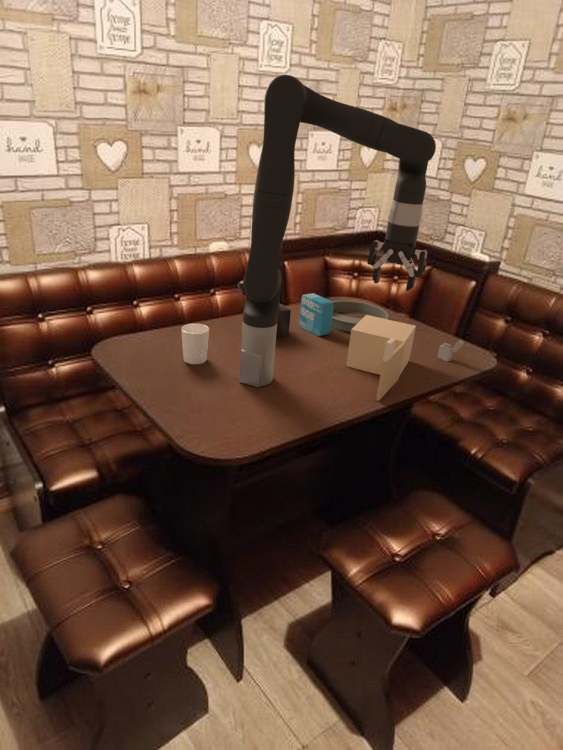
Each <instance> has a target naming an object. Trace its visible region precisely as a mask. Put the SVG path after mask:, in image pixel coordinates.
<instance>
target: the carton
mask: <svg viewBox="0 0 563 750" xmlns="http://www.w3.org/2000/svg"><path fill="white" fill-rule="evenodd" d="M361 318H362V319H361V320H360V321H359V322H358V323H357V324H356V325H355V326H354V327H353V328H352V329H351V332H350V337H349V343H348V351H347V356H346V363H345V364H346V365H345V367H348V368H353V369H356V370H360V371H365V372H367V373H370V374H371V373H372V374H375V375H378V376H379V375H381V369H382V364H383V357H384V351H385V346H386V342H387V341H388V340H390V339H391V338H394V339H396V340H395V346H394V350H395V349H396V348H397V347H398V346H399V345H400V344H401V343H403V342H404V343H405V348H404V354H403V359H402V364H401V369H400V374H399V377H400V376H401V375H402V373H403V371H404V369H406V366H407V364H408V363H409V362H408V361H410V358H411V352H412V347H413V342H414V338H415V332H416V328H417V326H416V325H414V324H409V323H404V322H401V321H395V320H392V319H389V318H388V319H383V318H379V317H374V316H370V315H364V317H361Z"/></svg>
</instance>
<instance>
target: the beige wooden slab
mask: <svg viewBox="0 0 563 750" xmlns="http://www.w3.org/2000/svg"><path fill="white" fill-rule="evenodd" d="M395 340H396V339H394V338H391V339H390V340H388V341H387V342H386V346H385V351H384V357H383V364H382V369H381V375H380V376H379V382H378V386H377V387H378V388H377V391H376V398H375V400H376V401H380V400H381V399H382V398H383V397H384V396H385V395H386V394H387V392H389V391H390V389H391V388H392V387H394V385H395V384H396V383H397V382H398V381H399V378H400V376H399V374H400V369H401V364H402V359H403V354H404V348H405V343H404V342H403V343H401V344H400V345H399V346H398V347H397V348H396V349H395V350H394V346H395ZM400 375H401V374H400Z"/></svg>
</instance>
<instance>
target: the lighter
mask: <svg viewBox="0 0 563 750" xmlns="http://www.w3.org/2000/svg"><path fill="white" fill-rule="evenodd" d="M464 344H465V342H464V341H463V340H462V339H460V340H458V341H457V342H456V343H455V345H453V347H451V346H452V345H451V344H450V343H447V342H444V343H443V344H440V345H439V348H438V352H437V358H438V359H440V358H441V359H440V360H443V361H444V362H447V361H449V362H451V361H452V357H453V353H457V352H458V351H459V350H460V348H461V347H462V346H463V345H464ZM450 360H451V361H450Z"/></svg>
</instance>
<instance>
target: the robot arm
mask: <svg viewBox="0 0 563 750" xmlns="http://www.w3.org/2000/svg"><path fill="white" fill-rule="evenodd" d="M263 97H264V99H263V101H264V102H263V103H264V107H263V109H264V110H263V112H264V114H263V117H264V118H263V139H262V141H263V142H262V147H261V151H260V155H259V156H260V157H259V161H258V167H257V171H256V178H255V184H254V192H253V201H252V213H251V233H250V235H251V239H250V241H251V242H250V250H249V255H248V259H247V264H246V268H245V272H244V273H245V274H244V276H243V286H244V290H245V293H246V296H245V300H244V307H243V312H242V330H241V351H240V358H239V359H240V360H239V377H238V379H239V380H238V381H239V383H242V384H246V385H248V386H253V387H255V388H260V387H262V386H267V385H269V384H271V383H272V382H273V379H274V378H273V377H274V367H275V353H276V343H277V338H276V331H277V319H278V312H279V303H280V301H281V289H282V272H281V270H280V267H279V266H280V253H281V249H282V248H281V247H282V244H283V240H284V237H285V234H286V230H287V228H288V223H289V219H290V216H291V209H292V206H293V205H292V203H293V196H294V191H295V190H294V189H295V175H296V173H295V171H296V170H295V169H296V167H295V155H296V154H295V150H296V144H297V143H296V141H297V137H298V134H299V129H300V128H299V127H300V123H303V124H308V125H311V126H314V127H318V128H321V129H324V130H327V131H329V132H332V133H334V134H336V135H338V136H339V137H342V138H344V139H346V140H349V141H351V142H353V143H356V144H358V145H361V146H363V147H366V148H369V149H372V150H375V151H378V152H381V153H386V154H389V155H390V156H393V157H395V158H396V159H398V170H397V179H396V183H395V185H394V192H393V197H392V203H391V206H390V209H389V214H388V216H387V217H388V218H387V219H388V220H387V221H388V222H387V226H386V232H385V237H384V242H381V241H380V240H379V239H376V240H373V241H372V242H371V245H370V249H369V253H368V257H367V261H366V262H367V265H369V266H372V268H373V272H372V273H373V274H372V278H371V279H372V281H373V283H374V284H375V285H376V284H379V283H380V279H381V273H382V266H383V265H385V263H386V262H388V263H391V264H394V263H395V264H397V265H400V266H401V265H404V269H406V271H407V273H408V277H407V282H406V286H405V291H407V292H410V291H411V290H413V288H414V286H415V282H416V278H417V277H421V276H422V275H424V274H425V273H426V267H427V261H428V249H423V250H422V249H421V250H420V249H417V247H416V245H417V240H418V237H419V236H418V235H419V230H420V225H421V221H422V215H423V206H424V205H423V204H424V200H425V194H426V189H427V178H426V175H427V171H428V165H429V162H430V161H431V160H432V159H433V157H434V155H435V153H436V149H437V143H436V140H435V139H434V138H435V137H434V136H433V135H432V134H431V133H429V132H427V131H425V130H421V129H418V128H415V127H412V126H410V125H409V126H408V125H405V124H402V123H399V122H397V121H394V120H393V119H391V118H389V117H386V116H384V115H381V114H378V113H376V112H374V111H370V110H367V109H363V108H361V107H357V106H354V105H350V104H346V103H343V102H339V101H336V100H335V99H334V100H333V99H332V98H329V97H326V96H324V95H322V94H320V93H319V92H317V91H315V90H313V89H311V88H310V87H308V86H307V85H305V84H303V82H302V81H301V80H299V79H298V78H297V77H294V76H293V75H291V74H290V75H288V74H281V75H278V76H276V77H274V78H273V79H272V80H271V81H270V82H269V84H268V86H267V87H266V90H265V93H264V96H263ZM381 248H382V251H383V256H381V257H380V258H379V259H378V260H377V255H378V252H379V251H380V249H381ZM415 255H416V258H417V260H418V263H417V268H416V266H415V263H414V260H413V257H414V256H415ZM280 304H281V303H280Z"/></svg>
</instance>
